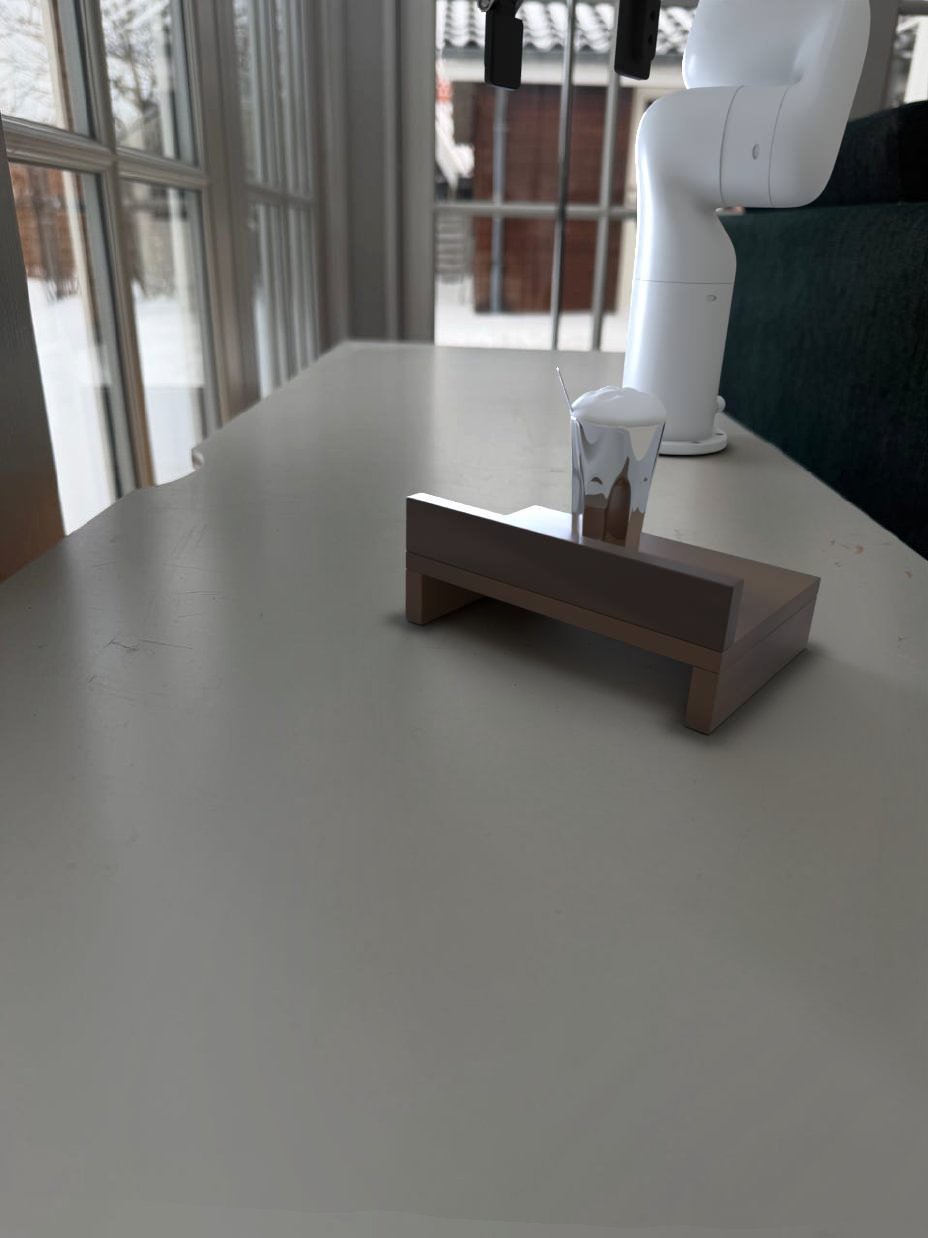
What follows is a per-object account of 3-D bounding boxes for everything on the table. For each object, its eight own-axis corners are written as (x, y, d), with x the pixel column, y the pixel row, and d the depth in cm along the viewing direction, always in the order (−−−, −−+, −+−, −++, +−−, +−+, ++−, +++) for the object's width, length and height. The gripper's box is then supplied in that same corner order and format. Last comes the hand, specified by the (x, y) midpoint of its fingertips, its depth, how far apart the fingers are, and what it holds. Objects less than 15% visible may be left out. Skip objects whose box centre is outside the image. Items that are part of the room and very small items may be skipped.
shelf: (531, 564, 57) (538, 457, 54) (806, 647, 47) (833, 521, 44) (404, 619, 49) (405, 496, 46) (708, 735, 38) (733, 586, 36)
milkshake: (536, 555, 47) (548, 361, 43) (634, 554, 47) (656, 363, 43) (550, 587, 43) (566, 376, 39) (658, 586, 43) (685, 378, 39)
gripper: (766, -299, 46) (718, 81, 53) (503, -214, 56) (491, 97, 63) (703, -370, 41) (658, 62, 48) (424, -262, 51) (421, 83, 58)
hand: (563, 82), depth 55 cm, fingers open, 9 cm apart
